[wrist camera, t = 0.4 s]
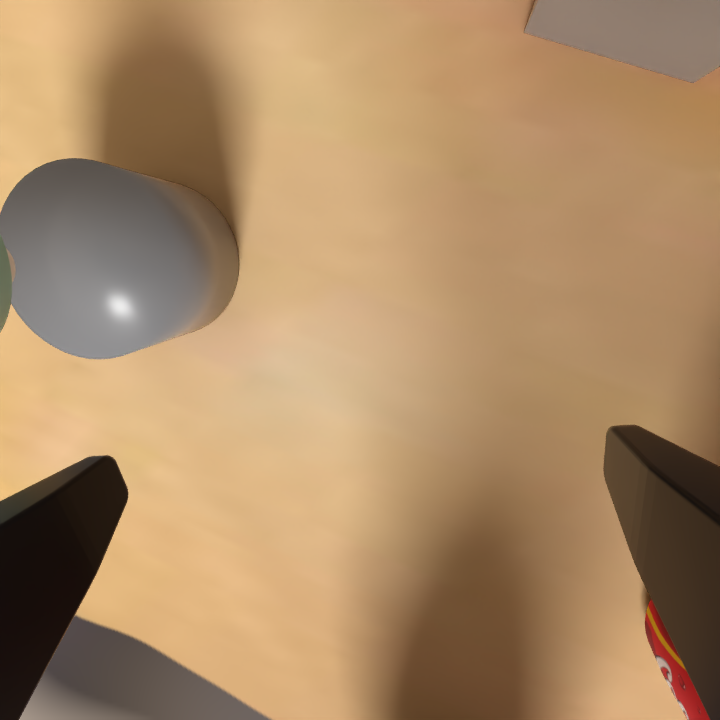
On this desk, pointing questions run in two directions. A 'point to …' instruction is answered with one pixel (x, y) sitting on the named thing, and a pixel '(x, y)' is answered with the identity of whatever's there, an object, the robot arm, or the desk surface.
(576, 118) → the desk surface
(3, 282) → the pump head
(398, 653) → the desk surface
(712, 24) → the perfume bottle
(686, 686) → the soda can
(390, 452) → the desk surface
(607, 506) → the desk surface
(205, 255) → the grey rounded lump
